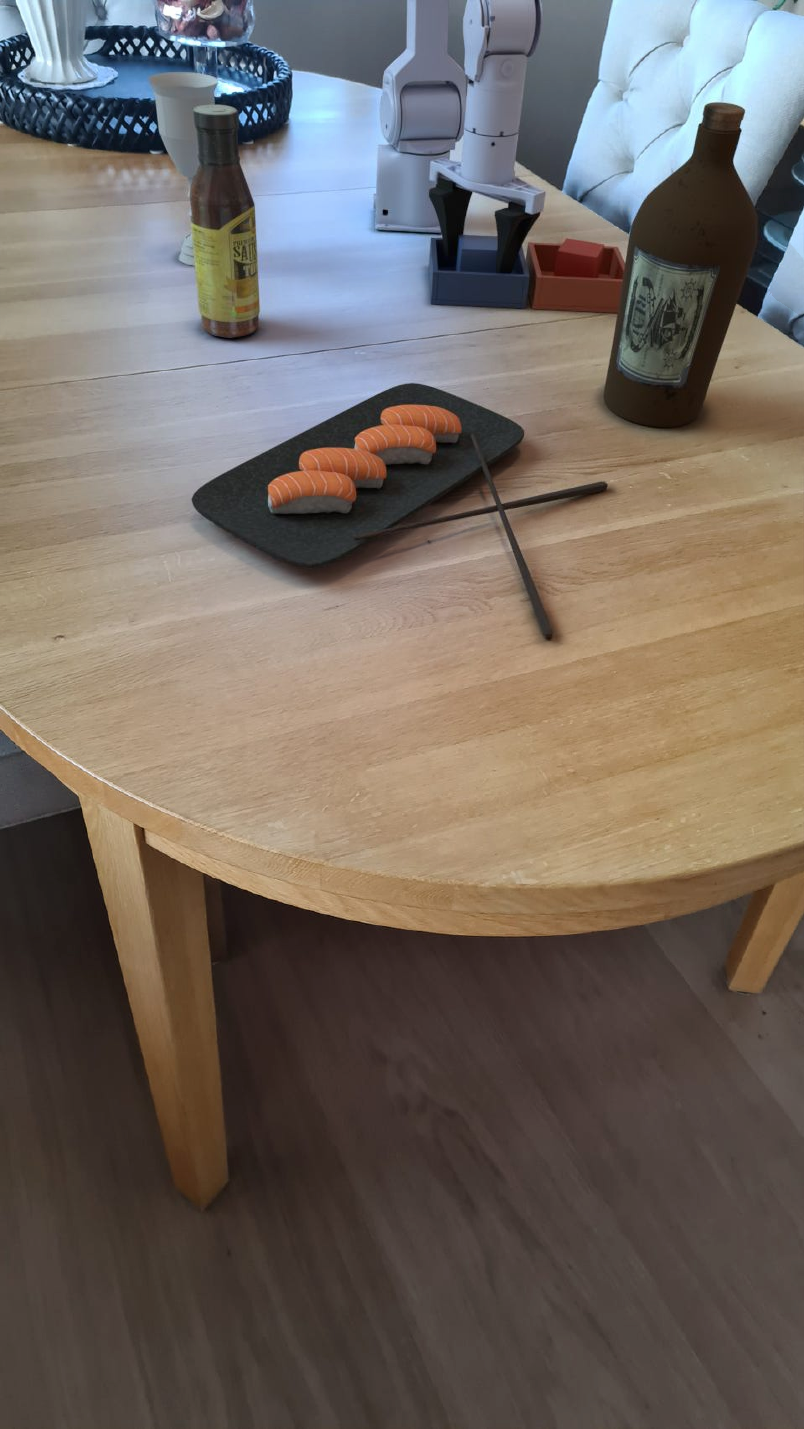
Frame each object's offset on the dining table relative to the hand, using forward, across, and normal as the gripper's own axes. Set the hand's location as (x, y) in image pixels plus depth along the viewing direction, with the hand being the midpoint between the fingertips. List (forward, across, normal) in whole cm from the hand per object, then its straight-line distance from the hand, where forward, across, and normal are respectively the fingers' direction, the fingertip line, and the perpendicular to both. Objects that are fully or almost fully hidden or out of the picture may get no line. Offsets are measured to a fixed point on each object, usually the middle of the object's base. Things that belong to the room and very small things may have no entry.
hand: (477, 264), depth 110 cm
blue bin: (+3, 0, 0) cm, 3 cm away
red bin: (+3, -8, -8) cm, 12 cm away
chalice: (+3, +27, +18) cm, 33 cm away
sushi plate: (+3, -29, +39) cm, 48 cm away
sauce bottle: (+3, +10, +28) cm, 30 cm away
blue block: (+2, 0, 0) cm, 2 cm away
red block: (+2, -8, -8) cm, 12 cm away
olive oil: (+3, -30, +9) cm, 31 cm away
